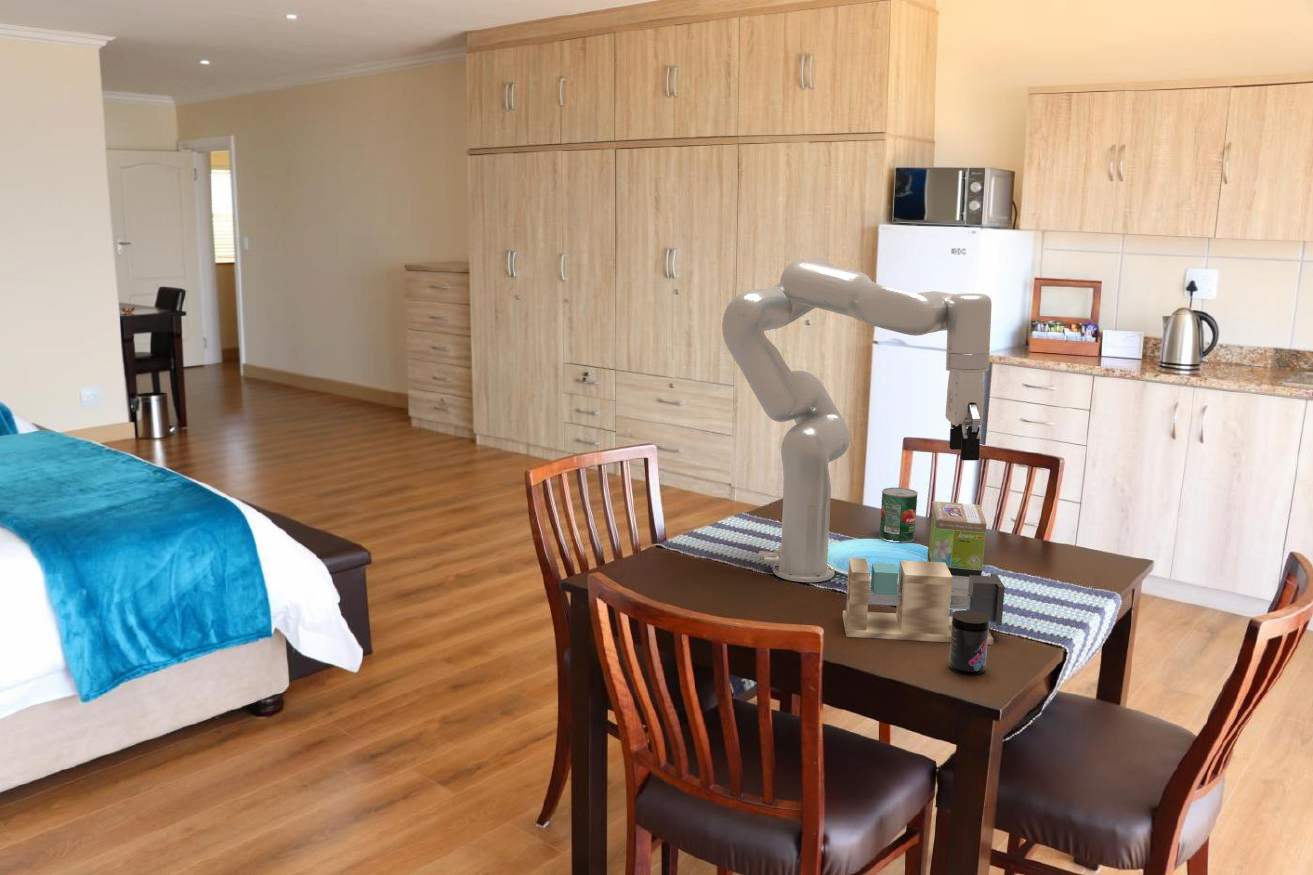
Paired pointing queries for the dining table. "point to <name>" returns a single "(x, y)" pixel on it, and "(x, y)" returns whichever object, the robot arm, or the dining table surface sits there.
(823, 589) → the dining table surface
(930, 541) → the tea box
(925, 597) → the wooden slotted block
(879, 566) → the spacer
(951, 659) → the supplement container
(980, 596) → the shaft
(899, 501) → the canned tomato
